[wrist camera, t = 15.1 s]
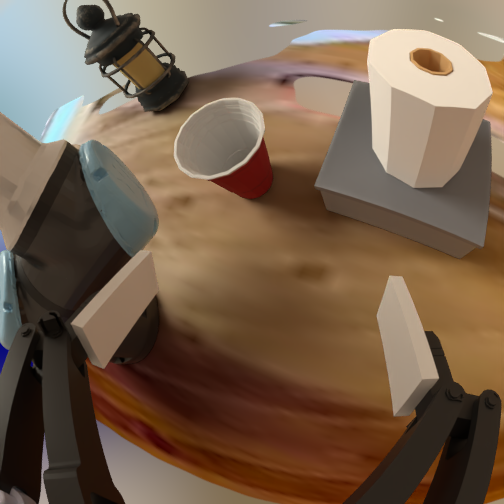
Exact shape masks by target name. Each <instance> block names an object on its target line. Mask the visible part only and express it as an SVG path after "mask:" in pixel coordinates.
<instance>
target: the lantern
mask: <svg viewBox="0 0 504 504" xmlns="http://www.w3.org/2000/svg"><path fill="white" fill-rule="evenodd" d="M103 1H104V3H105V4H106V6H107V7H108V9H109V10H110V13H111V15H112V18H110V19H106V20H105V19H104V12H103V10H102V9H101V8H100V7H99V6H97V5H82V6H79V7H78V9H77V20H76V22H77V24H78V26H79V27H80V28H81V29H84V30H91V31H93V32H92V35H91V37H90V36H88V35H87V34H85V33H83V32H81V31H79V30H78V29H77V28H75V27H74V26H73V25H72V24H71V23H70V21H69V19H68V17H67V15H66V3H67V0H65V2H64V5H63V17H64V19H65V21H66V23H67V25H68V26H69V27H70V28H71V29H72V30H73V31H75V32H76V33H78V34H79V35H81V36H83V37H85V38H86V39H88V40H89V42H88V44H87V48H86V51H85V56H84V57H85V58H86V61H85V63H86V64H87V65H90V64H94V63H96V62H98V63H99V64H100V65H99V69H100V71H101V74H102V77H108V78H109V79H110V80H111V81H112V82H113V83H114V84H116V85H117V86H118V87H119V88H120V89H121V90H122V91H123V93H124V95H125V97H127V98H134V97H138V101H139V102H140V103H141V106H143V108H144V112H146V111H161V110H162V109H164V108H165V107H167V106H168V105H169V104H171V103H172V102H174V101H175V100H177V99H178V98H179V96H180V95H181V93H182V92H183V90H184V89H185V87H186V86H187V84H188V78H187V76H186V74H185V72H184V71H180V69H179V68H176V66H175V65H174V63H175V56H174V55H173V54H172V53H169V52H168V51H167V50H166V49H165V48H164V47H163V46H162V44H161V43H160V42H159V41H158V40H157V39H156V37H155V36H154V35H155V32H154V31H152V30H148V29H147V28H139V25H140V16H139V15H138V14H134V15H133V14H132V13H128V14H124V15H122V16H121V15H119V16H116V15H115V12H114V10H113V8H112V6H111V4H110V3H109V1H108V0H103ZM141 30H145V31H144V32H142V31H141ZM148 33H149V34H150V38H149V39H148V41H147V42H146V43H145V44H144V43H143V42H142V41H141V39H142V37H143V35H144V34H148ZM153 39H154V40H155V41H156V42H157V43H158V45H159V46H160V47H161V48H162V49H163V50H164V51H165V53H163V54H160V55H157V56H155V55H154V53H153V52H152V51H151V50H150V49H149V48H148V45H149V44H150V42H151V41H152V40H153ZM162 56H169V57H170V59H171V62H170V64H168V63H162V62H161V61H160V60H159V59H158V58H160V57H162ZM112 64H113V65H114V66H115V67H116V68H117V69H116V70H114V71H112V72H110V73H106V72H105V70H106V67H107V66H109V65H112ZM102 66H104V67H103V69H102V68H101V67H102ZM119 71H120V72H122V74H123V75H124V76H126V77H127V78H128V79H129V80H128V82H127V83H126V85H125V88H123V87H122V86H120V85H119V84H118V83H117V82H116V81H115V80H114V79H112V78H111V77H110V76H111V75H113V74H115V73H117V72H119ZM130 82H132V83H133V84H134V85H135V86H136V94H133V95H132V94H129V93H128V92H127V89H128V86H129V84H130Z"/></svg>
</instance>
